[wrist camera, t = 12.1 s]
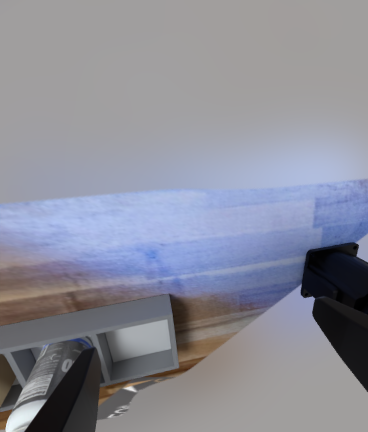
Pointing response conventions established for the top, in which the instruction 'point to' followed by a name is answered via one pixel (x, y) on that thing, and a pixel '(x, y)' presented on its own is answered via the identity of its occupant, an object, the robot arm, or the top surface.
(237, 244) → the top surface
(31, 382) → the pill bottle
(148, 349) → the bay dish
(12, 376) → the letter cube
